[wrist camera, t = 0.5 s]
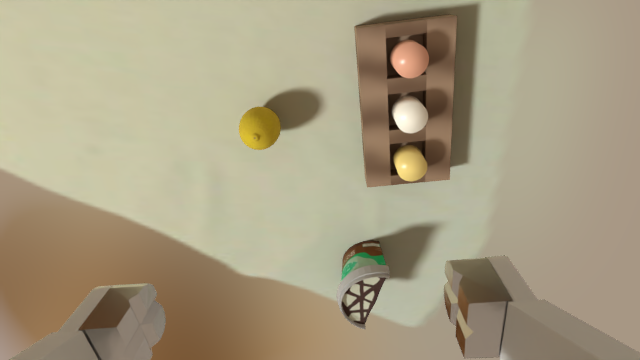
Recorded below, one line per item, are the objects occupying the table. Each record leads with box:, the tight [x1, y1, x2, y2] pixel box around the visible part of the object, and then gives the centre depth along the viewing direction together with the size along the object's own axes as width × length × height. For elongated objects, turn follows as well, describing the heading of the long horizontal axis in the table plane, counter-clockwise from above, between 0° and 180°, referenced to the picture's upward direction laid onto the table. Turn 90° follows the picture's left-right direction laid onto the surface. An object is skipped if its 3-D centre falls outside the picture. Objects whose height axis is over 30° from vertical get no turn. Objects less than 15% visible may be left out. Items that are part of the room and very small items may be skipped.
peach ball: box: [390, 40, 429, 78], centre depth 45 cm, size 4×4×4 cm
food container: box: [337, 241, 390, 329], centre depth 61 cm, size 12×6×10 cm, turn 165°
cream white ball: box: [392, 96, 428, 133], centre depth 48 cm, size 4×4×4 cm
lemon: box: [239, 107, 281, 150], centre depth 50 cm, size 6×6×8 cm
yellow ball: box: [393, 145, 427, 181], centre depth 51 cm, size 4×4×4 cm
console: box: [355, 14, 457, 187], centre depth 51 cm, size 22×12×4 cm, turn 7°
